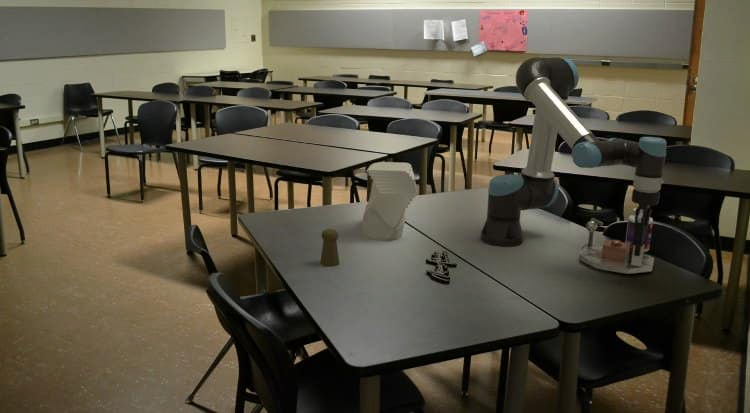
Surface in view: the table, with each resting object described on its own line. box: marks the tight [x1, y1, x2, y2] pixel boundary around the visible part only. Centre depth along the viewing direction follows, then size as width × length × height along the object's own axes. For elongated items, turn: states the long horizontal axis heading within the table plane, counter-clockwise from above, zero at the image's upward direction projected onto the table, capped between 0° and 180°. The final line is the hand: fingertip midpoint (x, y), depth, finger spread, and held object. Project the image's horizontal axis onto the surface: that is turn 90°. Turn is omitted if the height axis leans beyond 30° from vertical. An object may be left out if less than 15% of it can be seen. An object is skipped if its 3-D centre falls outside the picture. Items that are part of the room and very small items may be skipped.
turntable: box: [578, 244, 655, 275], centre depth 204 cm, size 22×22×7 cm
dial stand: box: [581, 217, 604, 250], centre depth 217 cm, size 6×6×11 cm
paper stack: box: [362, 161, 419, 241], centre depth 229 cm, size 21×27×26 cm
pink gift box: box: [601, 239, 630, 261], centre depth 205 cm, size 7×7×5 cm
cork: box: [319, 228, 340, 268], centre depth 198 cm, size 6×6×11 cm
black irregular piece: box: [425, 250, 458, 285], centre depth 197 cm, size 27×2×10 cm
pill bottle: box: [624, 207, 654, 253], centre depth 219 cm, size 8×8×14 cm
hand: (636, 264), depth 192 cm, fingers closed
